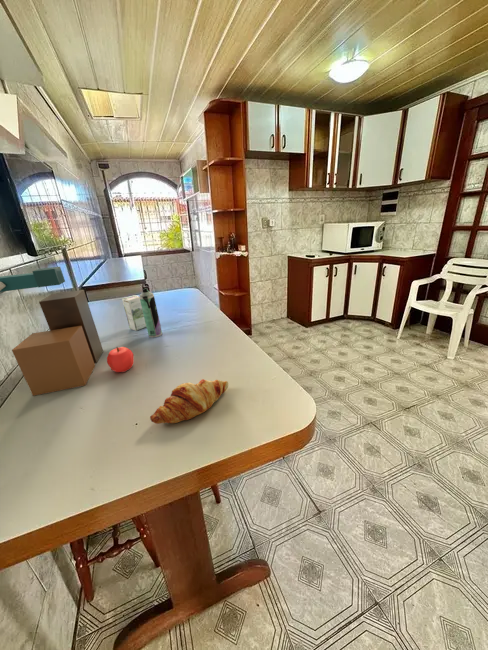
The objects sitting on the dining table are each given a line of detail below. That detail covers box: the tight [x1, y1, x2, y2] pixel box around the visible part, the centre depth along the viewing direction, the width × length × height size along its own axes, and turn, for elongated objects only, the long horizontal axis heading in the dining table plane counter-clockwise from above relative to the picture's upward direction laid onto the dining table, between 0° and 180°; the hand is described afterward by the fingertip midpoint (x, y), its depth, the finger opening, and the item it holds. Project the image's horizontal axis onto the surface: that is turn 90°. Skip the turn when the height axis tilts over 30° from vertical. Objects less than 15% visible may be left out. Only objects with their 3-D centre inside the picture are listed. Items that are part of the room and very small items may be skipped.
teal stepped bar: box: [0, 266, 66, 292], centre depth 83 cm, size 18×5×5 cm, turn 105°
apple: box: [106, 346, 135, 373], centre depth 86 cm, size 8×8×8 cm
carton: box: [11, 326, 96, 397], centre depth 81 cm, size 14×12×15 cm
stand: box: [38, 289, 104, 365], centre depth 92 cm, size 10×10×24 cm
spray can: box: [138, 287, 163, 339], centre depth 108 cm, size 6×6×20 cm
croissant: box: [149, 378, 229, 424], centre depth 66 cm, size 21×10×8 cm, turn 130°
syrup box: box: [121, 294, 147, 332], centre depth 118 cm, size 6×6×14 cm
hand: (8, 281), depth 82 cm, fingers closed on teal stepped bar, 4 cm apart
